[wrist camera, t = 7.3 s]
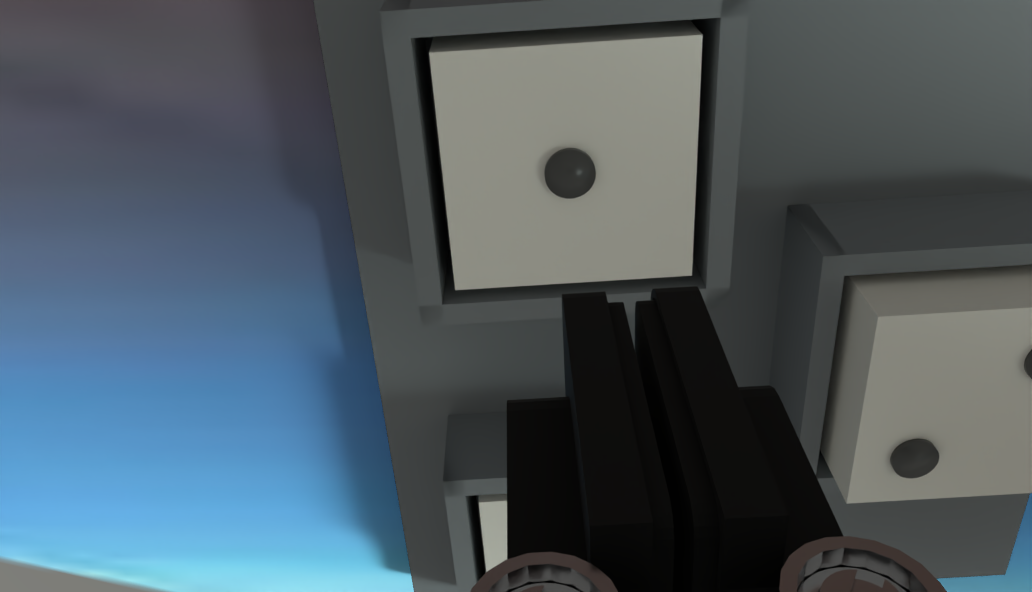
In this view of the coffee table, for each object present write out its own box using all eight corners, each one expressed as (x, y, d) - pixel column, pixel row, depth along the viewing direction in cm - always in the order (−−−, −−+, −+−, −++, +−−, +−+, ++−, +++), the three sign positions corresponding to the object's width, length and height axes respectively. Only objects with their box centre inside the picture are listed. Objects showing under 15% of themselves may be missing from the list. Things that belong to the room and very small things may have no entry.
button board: (1173, -114, 18) (1322, -95, 15) (986, 545, 28) (1051, 646, 24) (316, -56, 19) (276, -23, 15) (419, 577, 28) (409, 681, 25)
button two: (1073, 255, 19) (1135, 306, 17) (1021, 435, 22) (1070, 495, 20) (844, 269, 19) (881, 320, 17) (818, 447, 22) (848, 508, 20)
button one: (682, 11, 18) (704, 36, 16) (675, 234, 20) (693, 279, 18) (435, 27, 18) (428, 55, 16) (458, 248, 20) (454, 294, 18)
